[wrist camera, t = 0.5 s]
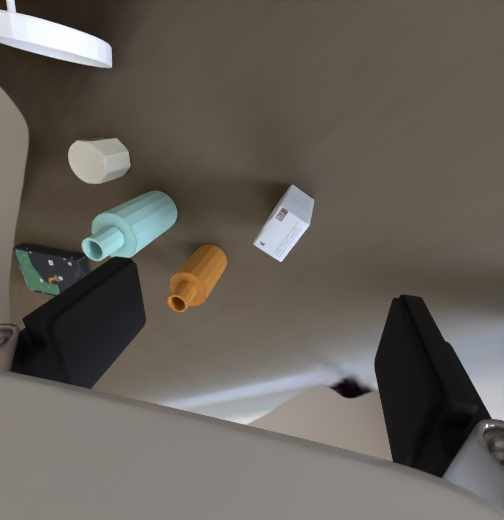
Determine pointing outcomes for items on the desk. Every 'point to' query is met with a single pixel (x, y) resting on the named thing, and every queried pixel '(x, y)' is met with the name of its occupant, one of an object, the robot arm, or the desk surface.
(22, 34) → the desk lamp
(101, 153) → the cream short cylinder
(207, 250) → the amber bottle
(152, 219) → the bottle
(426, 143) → the desk surface
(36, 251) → the disk drive
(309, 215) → the cosmetic box
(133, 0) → the desk surface
